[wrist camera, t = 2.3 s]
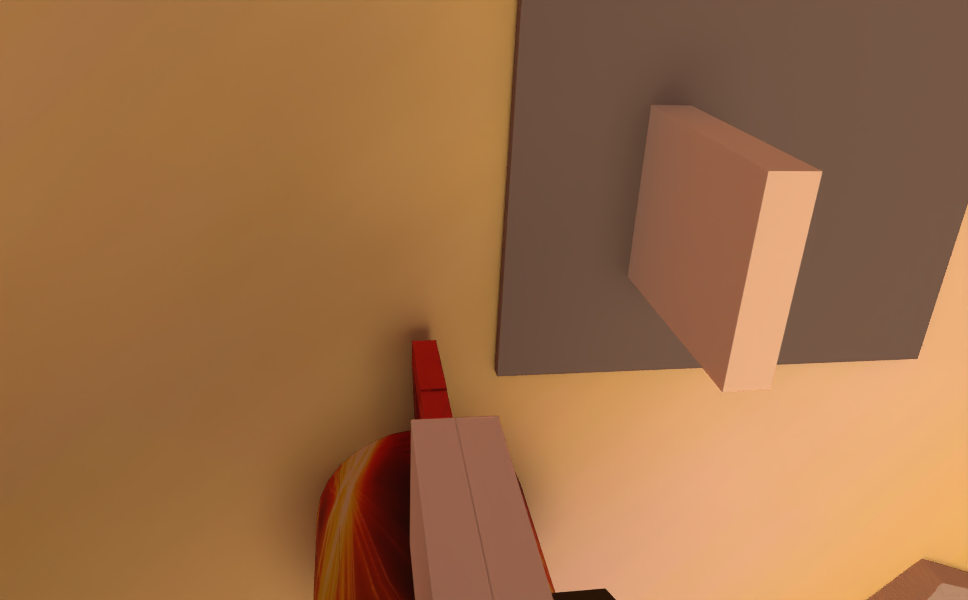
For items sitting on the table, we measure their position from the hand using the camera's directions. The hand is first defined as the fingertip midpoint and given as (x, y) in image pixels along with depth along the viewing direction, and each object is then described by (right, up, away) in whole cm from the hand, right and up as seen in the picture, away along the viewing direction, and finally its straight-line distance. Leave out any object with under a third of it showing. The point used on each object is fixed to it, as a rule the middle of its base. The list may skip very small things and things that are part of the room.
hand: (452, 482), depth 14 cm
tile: (+7, +7, +17) cm, 20 cm away
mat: (+11, +8, +18) cm, 23 cm away
